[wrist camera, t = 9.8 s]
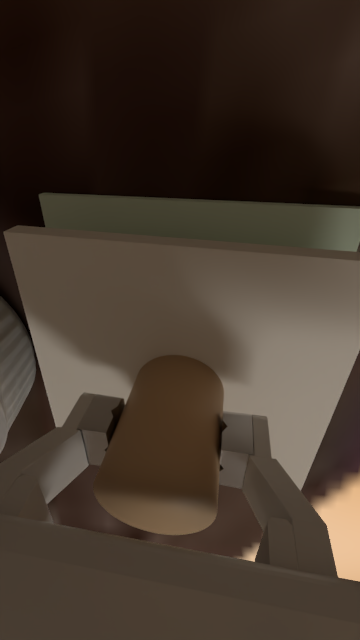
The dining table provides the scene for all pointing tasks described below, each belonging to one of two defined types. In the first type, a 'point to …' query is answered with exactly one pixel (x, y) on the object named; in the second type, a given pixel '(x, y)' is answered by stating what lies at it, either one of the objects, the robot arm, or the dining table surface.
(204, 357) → the cover
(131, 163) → the dining table surface
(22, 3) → the dining table surface
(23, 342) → the ramekin
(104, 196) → the mat
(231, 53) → the dining table surface
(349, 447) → the dining table surface
